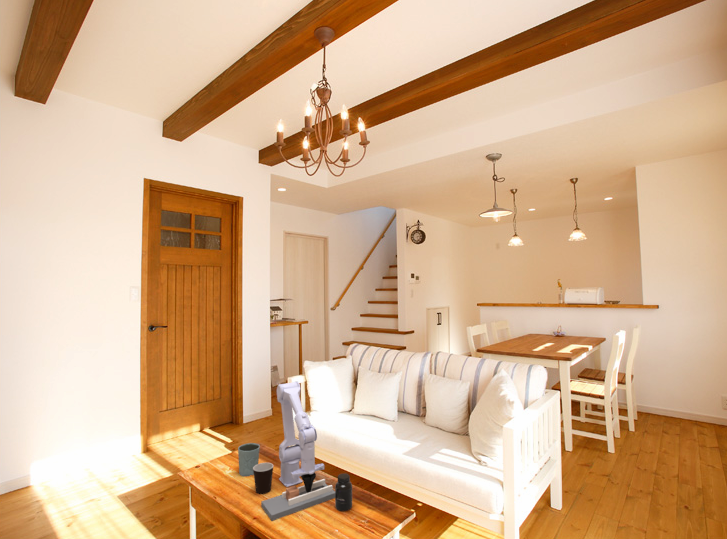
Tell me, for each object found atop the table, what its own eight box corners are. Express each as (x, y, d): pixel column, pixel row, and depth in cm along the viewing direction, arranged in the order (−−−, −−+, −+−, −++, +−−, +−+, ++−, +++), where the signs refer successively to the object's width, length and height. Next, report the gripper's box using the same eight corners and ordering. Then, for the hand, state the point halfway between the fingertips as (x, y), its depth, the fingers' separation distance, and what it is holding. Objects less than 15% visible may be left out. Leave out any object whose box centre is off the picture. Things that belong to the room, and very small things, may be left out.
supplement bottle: (337, 513, 146) (336, 481, 147) (333, 504, 153) (333, 473, 153) (354, 510, 148) (353, 478, 149) (350, 501, 155) (349, 471, 155)
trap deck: (261, 506, 152) (261, 501, 152) (322, 485, 167) (322, 481, 168) (271, 521, 142) (271, 515, 142) (336, 497, 158) (336, 492, 158)
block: (286, 498, 154) (285, 488, 154) (295, 495, 156) (295, 485, 156) (289, 503, 150) (289, 492, 151) (299, 499, 153) (299, 489, 153)
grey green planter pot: (236, 470, 185) (236, 445, 185) (258, 465, 189) (257, 441, 190) (239, 479, 175) (239, 452, 176) (261, 474, 180) (261, 448, 180)
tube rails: (282, 497, 155) (282, 492, 155) (324, 483, 165) (324, 478, 166) (289, 505, 148) (289, 500, 149) (332, 490, 159) (332, 485, 159)
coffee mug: (268, 496, 160) (267, 472, 160) (249, 494, 161) (249, 470, 162) (279, 482, 171) (279, 460, 172) (262, 481, 173) (261, 459, 173)
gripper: (295, 466, 151) (296, 501, 150) (327, 456, 159) (328, 489, 158) (288, 459, 157) (289, 493, 156) (319, 451, 165) (320, 483, 164)
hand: (308, 491), depth 157 cm, fingers closed
